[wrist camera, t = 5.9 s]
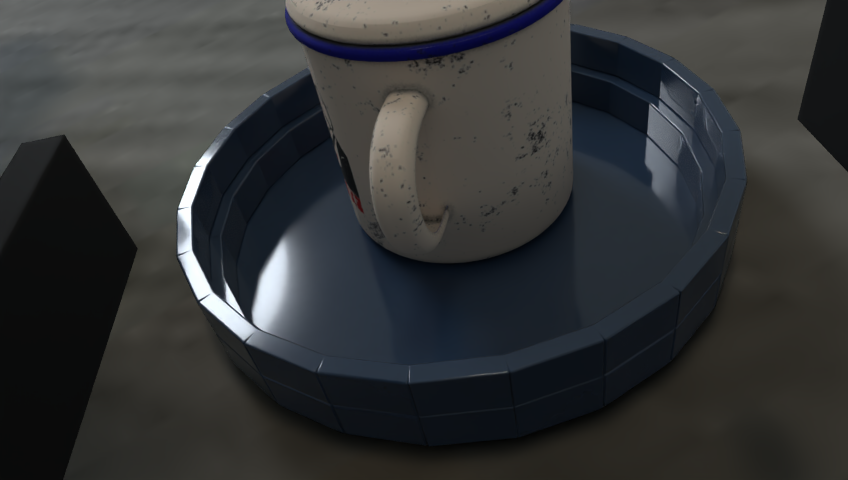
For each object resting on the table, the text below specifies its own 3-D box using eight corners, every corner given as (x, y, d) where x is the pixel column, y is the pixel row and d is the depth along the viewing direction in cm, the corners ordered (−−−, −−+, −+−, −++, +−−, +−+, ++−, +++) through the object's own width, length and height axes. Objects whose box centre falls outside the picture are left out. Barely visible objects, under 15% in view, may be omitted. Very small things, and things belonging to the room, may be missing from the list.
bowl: (227, 546, 18) (173, 487, 16) (206, 159, 32) (176, 97, 30) (867, 322, 20) (904, 238, 17) (579, 47, 34) (579, -19, 31)
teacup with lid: (380, 126, 31) (309, -156, 23) (583, 121, 28) (582, -195, 21) (295, 333, 23) (137, 2, 15) (571, 349, 20) (560, -34, 12)
